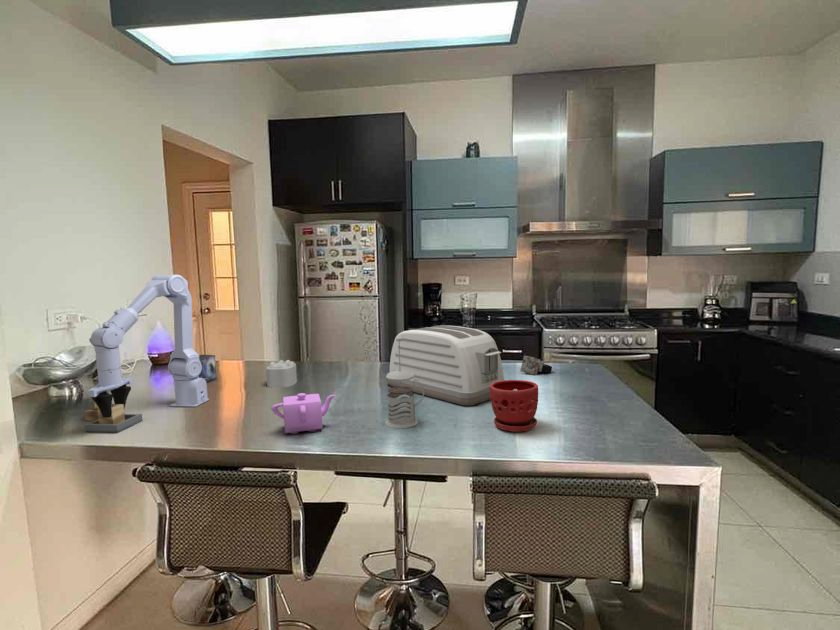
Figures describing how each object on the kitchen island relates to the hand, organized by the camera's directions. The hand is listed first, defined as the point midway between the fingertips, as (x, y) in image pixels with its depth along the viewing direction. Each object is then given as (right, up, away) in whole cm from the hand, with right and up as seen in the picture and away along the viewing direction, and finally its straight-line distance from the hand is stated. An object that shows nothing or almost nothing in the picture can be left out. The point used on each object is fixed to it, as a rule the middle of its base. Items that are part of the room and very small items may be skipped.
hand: (113, 414), depth 136 cm
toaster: (+99, +2, +32) cm, 104 cm away
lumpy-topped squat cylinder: (+36, +2, +47) cm, 59 cm away
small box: (+2, +2, +51) cm, 51 cm away
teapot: (+58, -3, -5) cm, 58 cm away
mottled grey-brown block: (+138, +5, +54) cm, 148 cm away
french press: (+85, -2, -2) cm, 85 cm away
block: (-1, -3, 0) cm, 3 cm away
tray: (0, -4, 0) cm, 4 cm away
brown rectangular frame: (-9, -3, +10) cm, 13 cm away
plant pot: (+116, -2, -7) cm, 116 cm away
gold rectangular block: (-9, -3, +10) cm, 14 cm away
